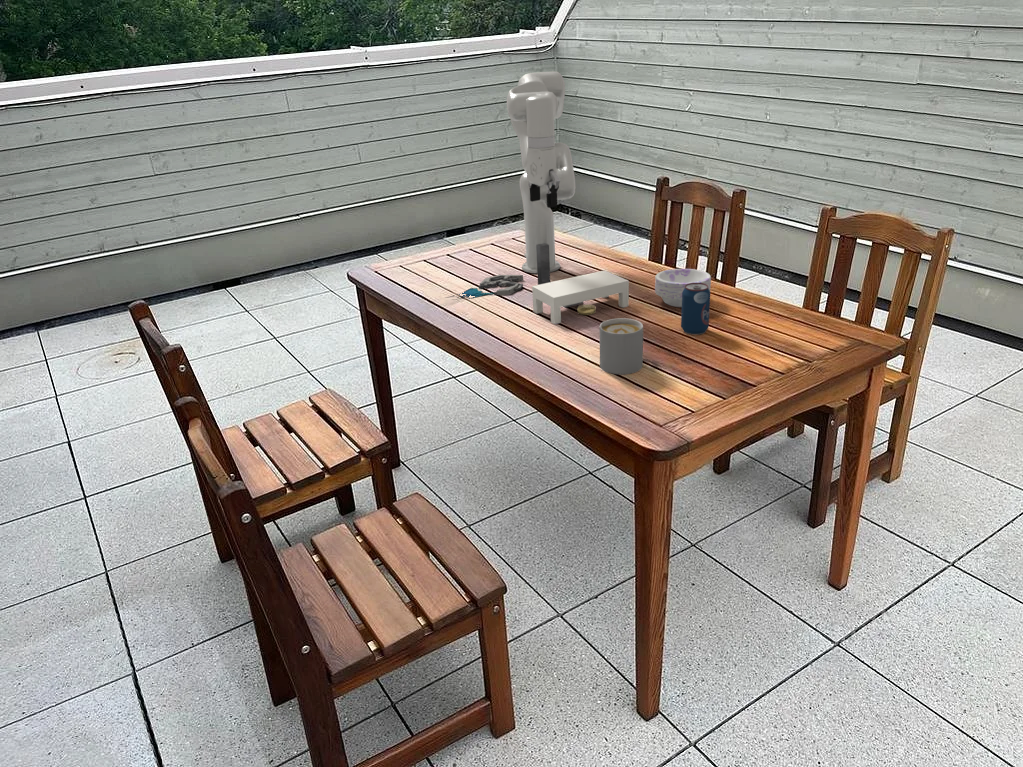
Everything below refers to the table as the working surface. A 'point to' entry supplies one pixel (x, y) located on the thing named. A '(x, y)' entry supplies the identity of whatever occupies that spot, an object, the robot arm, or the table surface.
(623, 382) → the table surface
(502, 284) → the weapon
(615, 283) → the low stand
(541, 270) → the blade tool
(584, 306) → the brass puck
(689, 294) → the soda can
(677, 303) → the paper bowls
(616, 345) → the coffee mug
